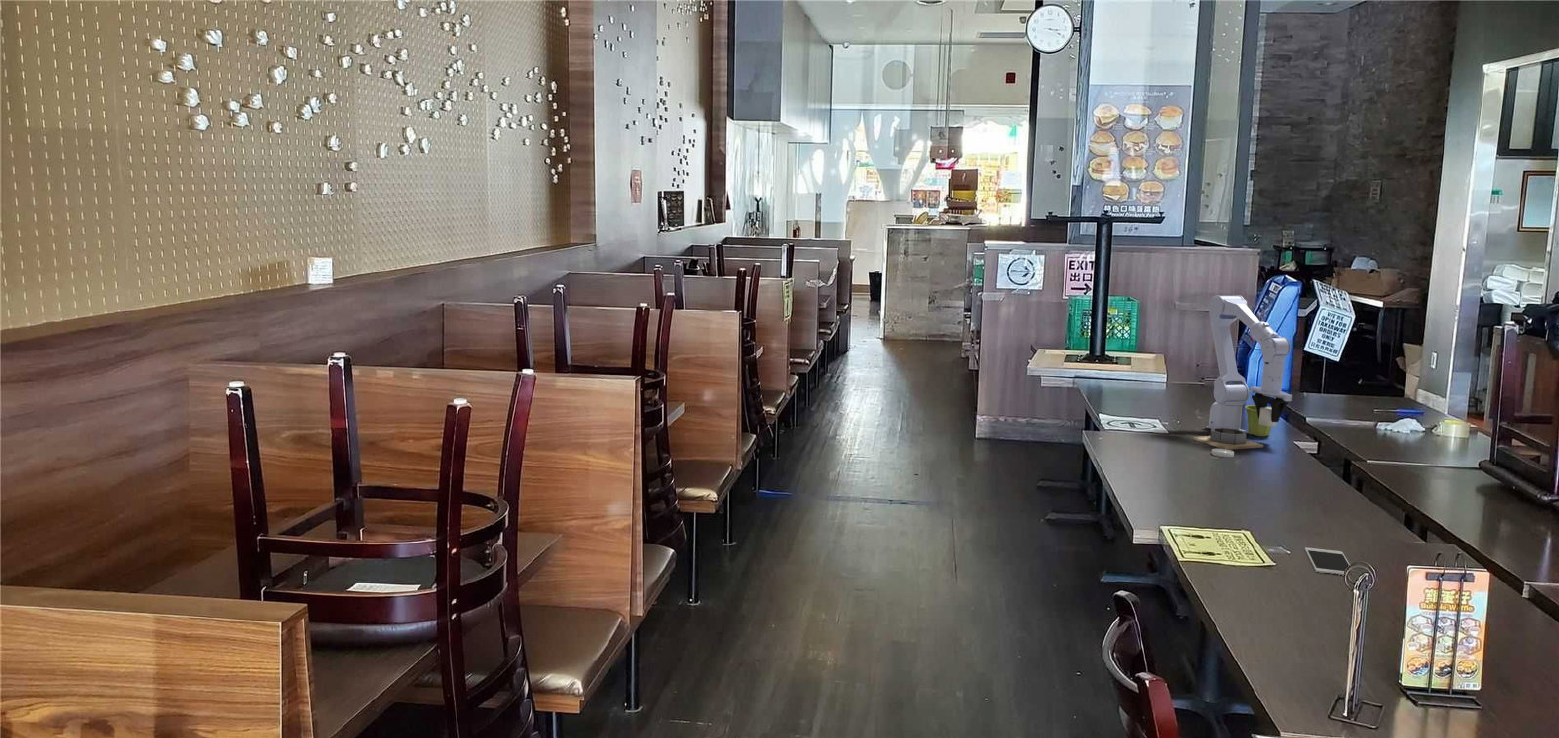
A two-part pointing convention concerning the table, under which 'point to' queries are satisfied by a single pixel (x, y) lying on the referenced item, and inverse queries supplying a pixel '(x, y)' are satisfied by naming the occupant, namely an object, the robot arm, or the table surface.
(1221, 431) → the lens ring
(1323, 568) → the smartphone
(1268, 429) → the plant pot
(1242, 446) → the mount plate
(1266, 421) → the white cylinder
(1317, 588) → the table surface
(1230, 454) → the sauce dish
